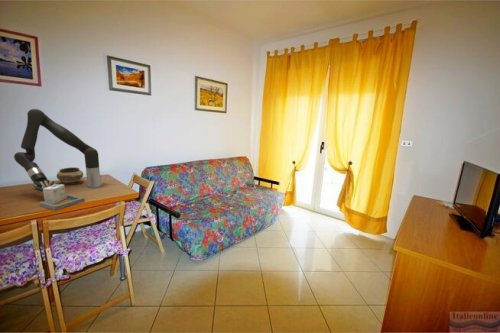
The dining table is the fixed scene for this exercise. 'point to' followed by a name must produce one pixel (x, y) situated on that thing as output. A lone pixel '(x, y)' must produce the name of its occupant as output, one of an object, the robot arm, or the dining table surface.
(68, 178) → the ceramic bowl
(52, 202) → the light bulb box
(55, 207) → the charcoal bay
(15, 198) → the dining table surface
